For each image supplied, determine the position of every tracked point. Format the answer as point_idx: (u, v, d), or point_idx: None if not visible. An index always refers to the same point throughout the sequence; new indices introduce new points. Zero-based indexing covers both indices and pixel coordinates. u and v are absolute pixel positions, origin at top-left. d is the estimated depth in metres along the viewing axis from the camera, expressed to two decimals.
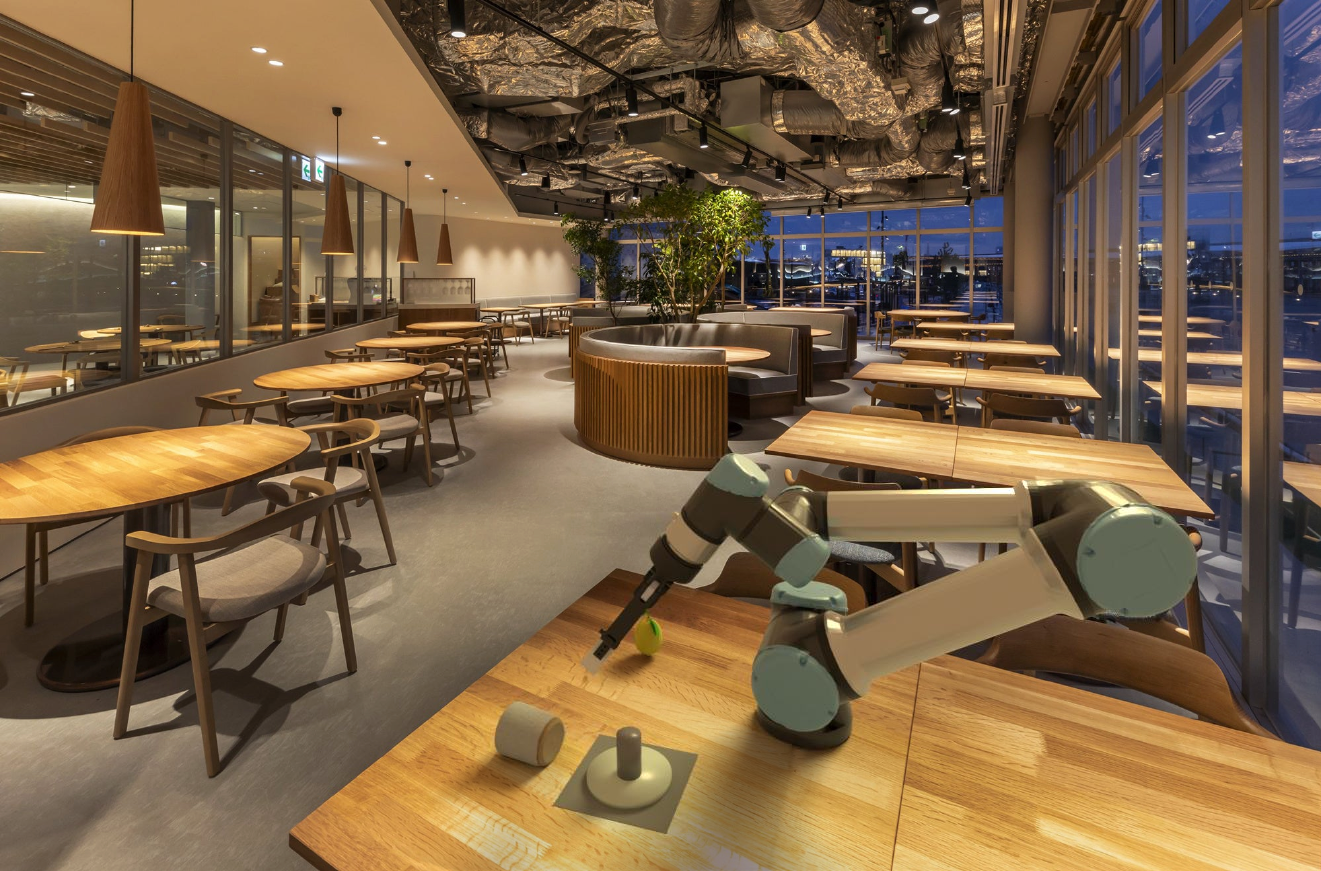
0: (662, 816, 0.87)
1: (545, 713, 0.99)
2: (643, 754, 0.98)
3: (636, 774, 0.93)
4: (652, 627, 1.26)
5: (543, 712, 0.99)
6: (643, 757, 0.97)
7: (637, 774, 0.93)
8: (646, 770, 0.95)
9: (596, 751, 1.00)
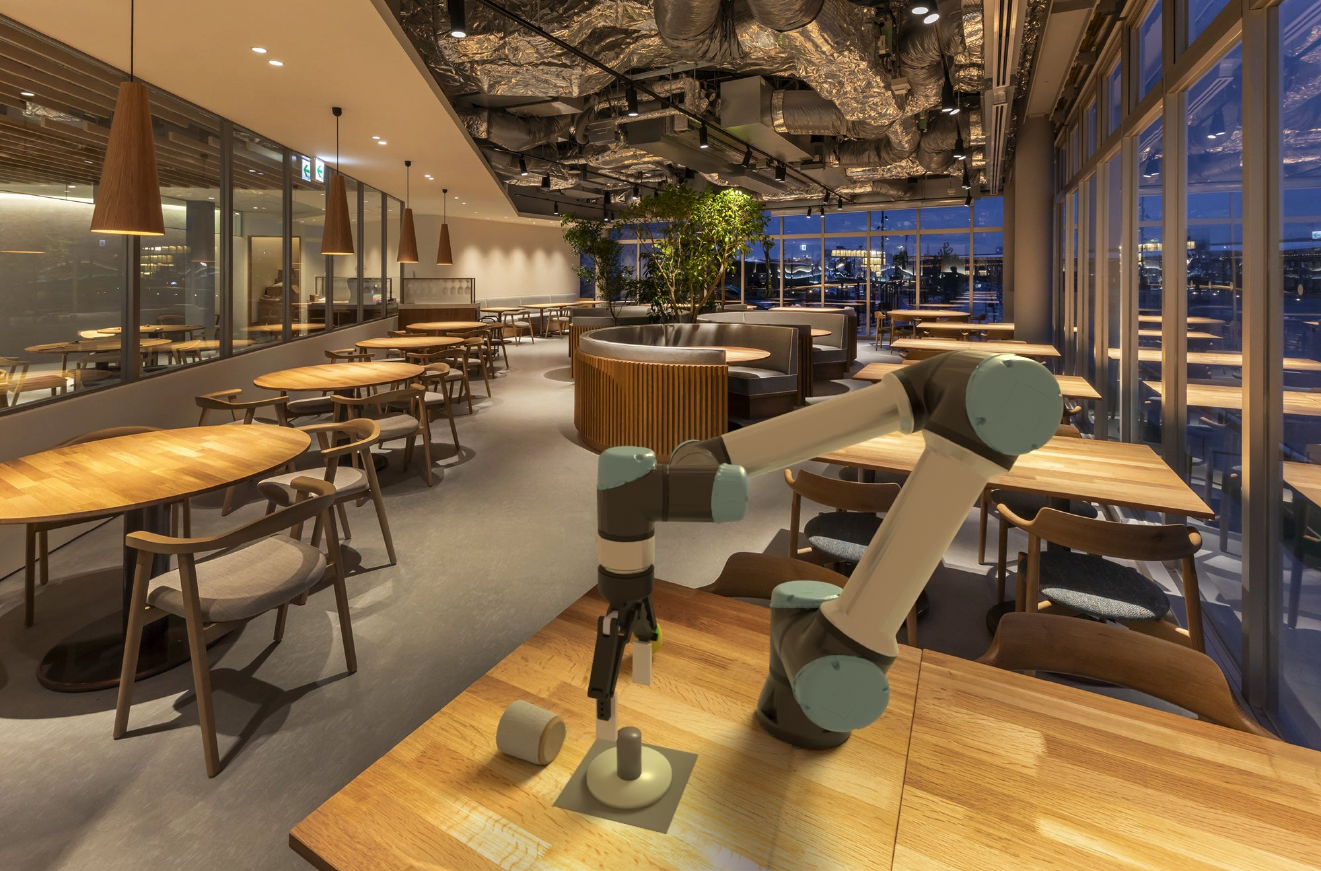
0: (662, 816, 0.87)
1: (546, 712, 0.99)
2: (643, 754, 0.98)
3: (636, 774, 0.93)
4: None
5: (544, 711, 1.00)
6: (643, 757, 0.97)
7: (637, 774, 0.93)
8: (646, 770, 0.95)
9: (596, 751, 1.00)
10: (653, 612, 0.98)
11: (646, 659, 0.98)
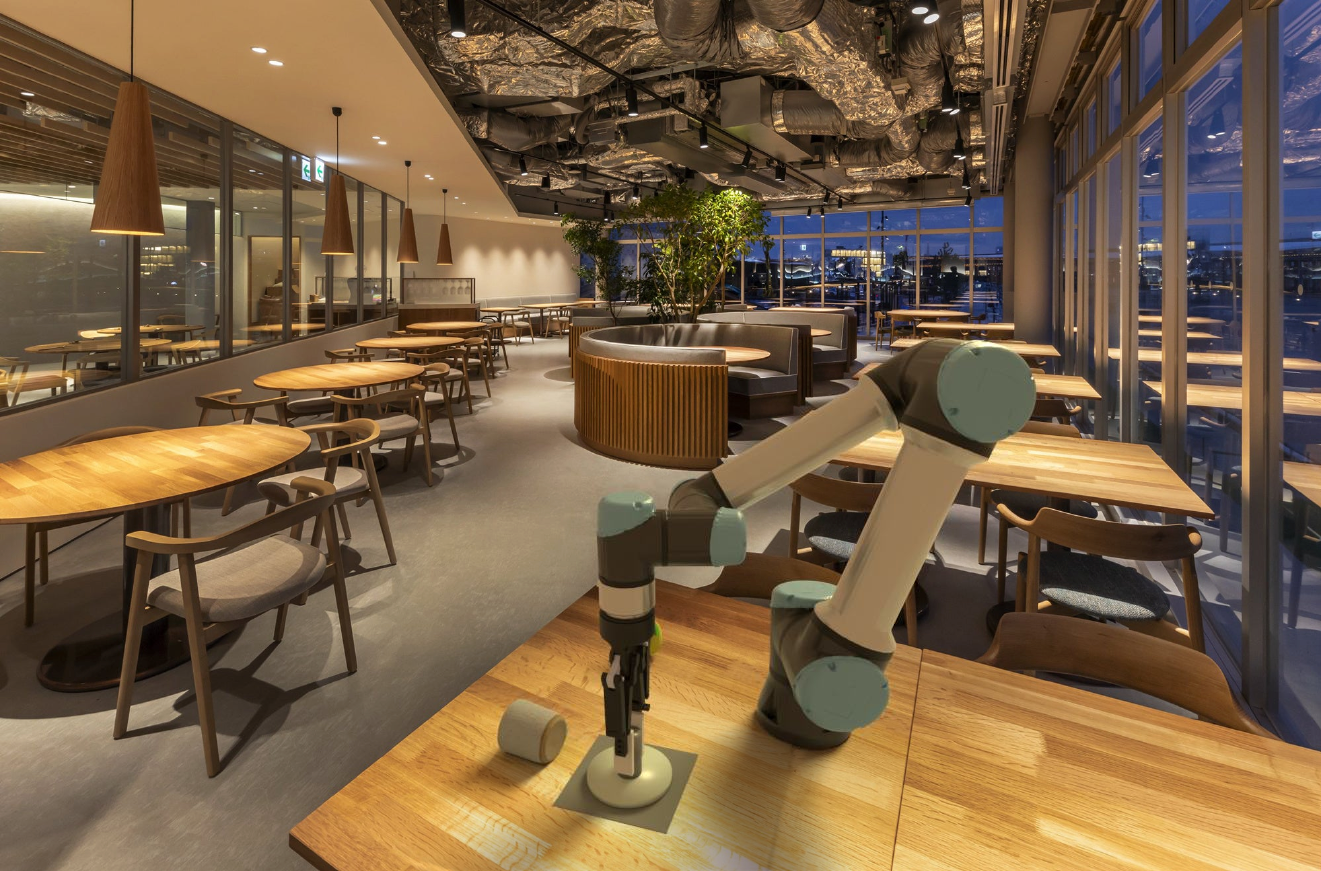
0: (662, 816, 0.87)
1: (548, 710, 1.00)
2: None
3: (636, 773, 0.93)
4: None
5: (546, 709, 1.00)
6: (643, 756, 0.97)
7: (637, 773, 0.93)
8: (647, 769, 0.95)
9: (596, 751, 1.00)
10: (648, 674, 0.97)
11: None
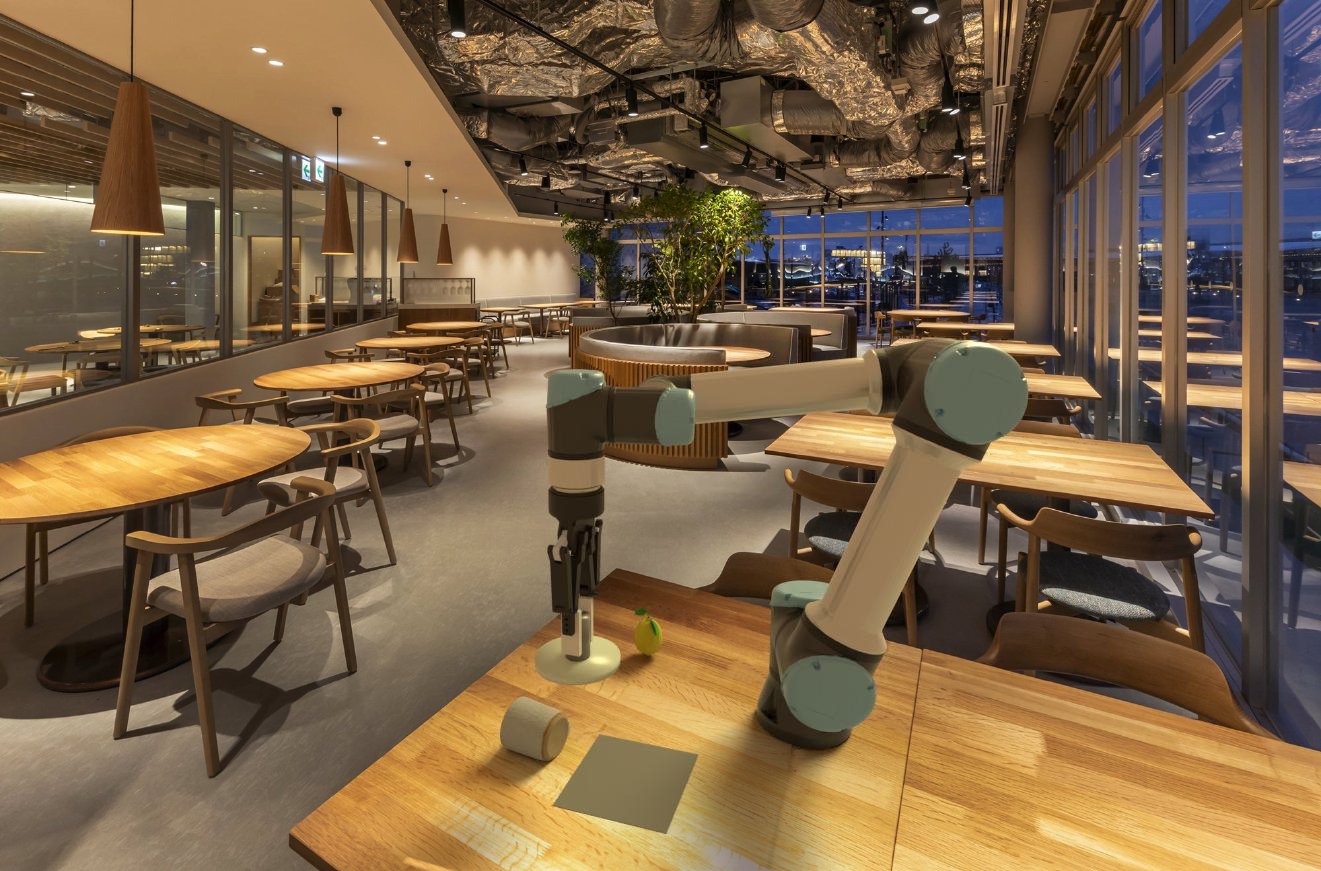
0: (662, 816, 0.87)
1: (550, 708, 1.00)
2: (593, 641, 0.98)
3: (584, 655, 0.93)
4: (652, 627, 1.26)
5: (548, 707, 1.00)
6: (593, 644, 0.97)
7: (585, 655, 0.93)
8: (595, 654, 0.95)
9: (596, 751, 1.00)
10: (599, 561, 0.97)
11: None
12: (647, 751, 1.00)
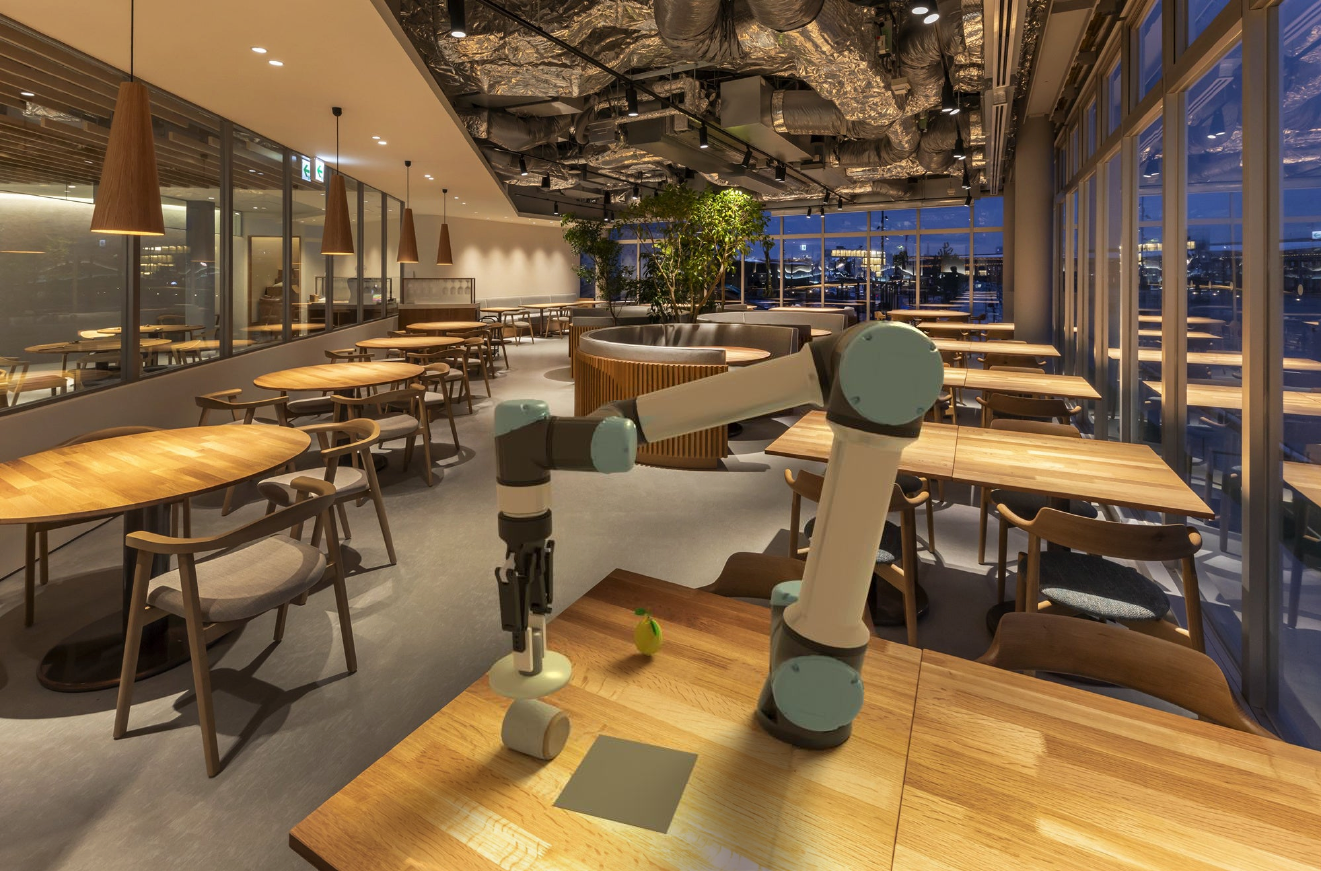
0: (662, 816, 0.87)
1: (551, 707, 1.00)
2: (547, 656, 1.03)
3: (536, 670, 0.97)
4: (652, 627, 1.26)
5: (549, 706, 1.01)
6: (547, 659, 1.02)
7: (537, 670, 0.98)
8: (547, 668, 0.99)
9: (596, 751, 1.00)
10: (551, 580, 1.01)
11: None
12: (647, 751, 1.00)
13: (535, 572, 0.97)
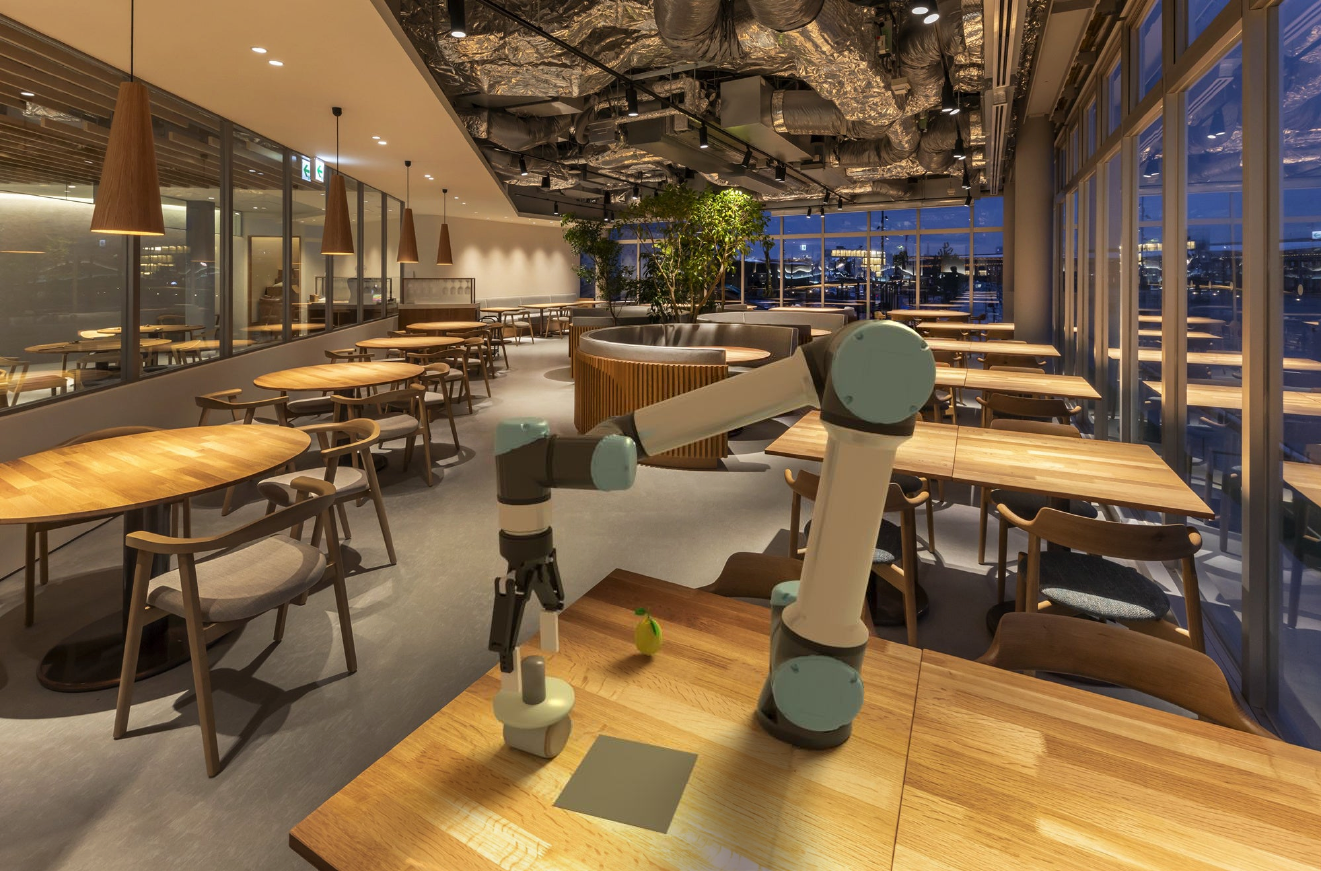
0: (662, 816, 0.87)
1: None
2: (550, 683, 1.04)
3: (539, 698, 0.99)
4: (652, 627, 1.26)
5: None
6: (549, 686, 1.03)
7: (540, 699, 0.99)
8: (551, 696, 1.01)
9: (596, 751, 1.00)
10: (559, 581, 1.04)
11: (552, 627, 1.03)
12: (647, 751, 1.00)
13: (540, 583, 0.99)
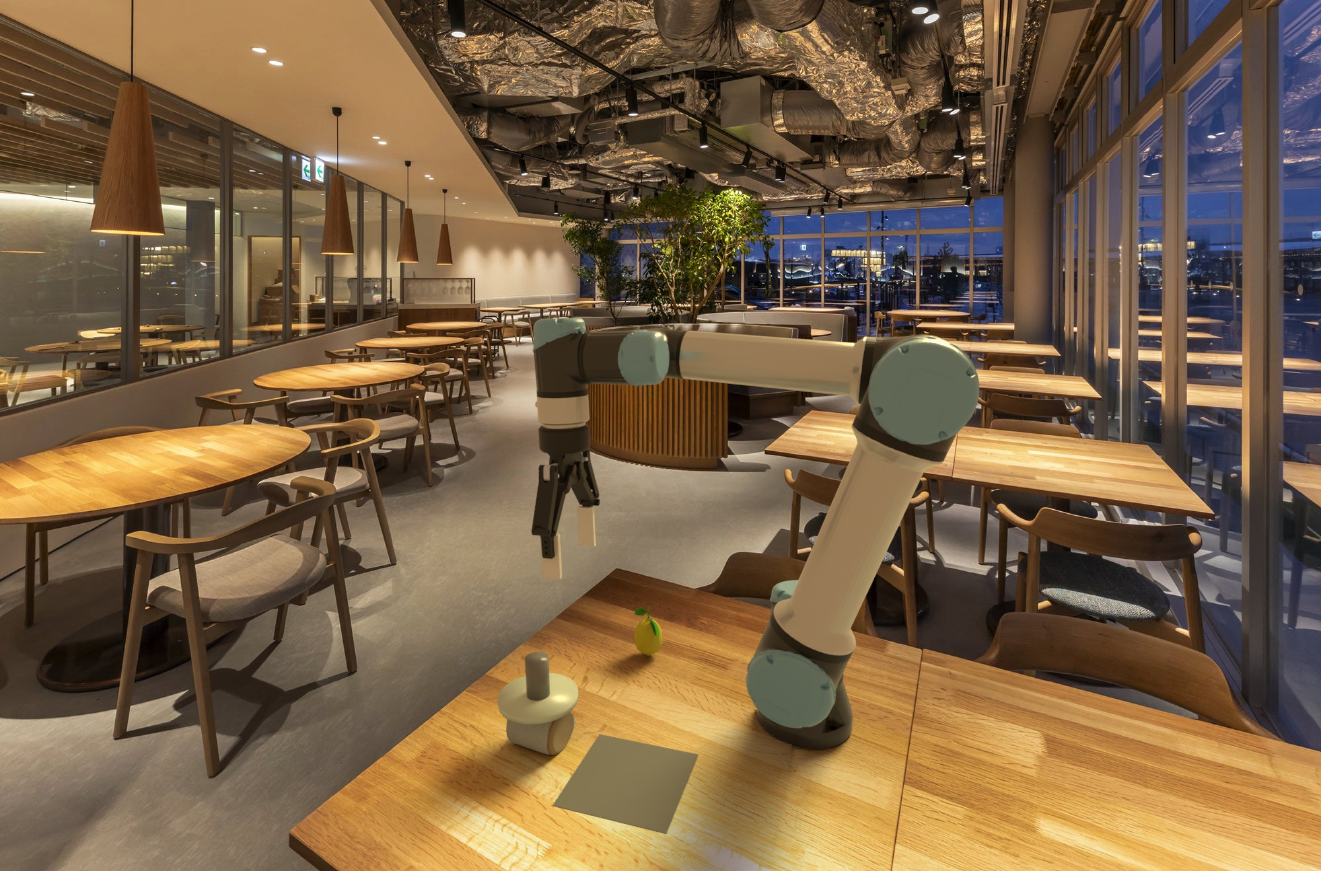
0: (662, 816, 0.87)
1: None
2: (554, 679, 1.05)
3: (543, 694, 1.00)
4: (652, 627, 1.26)
5: None
6: (553, 682, 1.04)
7: (544, 695, 1.00)
8: (555, 692, 1.02)
9: (596, 751, 1.00)
10: (594, 479, 1.08)
11: (589, 522, 1.08)
12: (647, 751, 1.00)
13: (578, 480, 1.03)
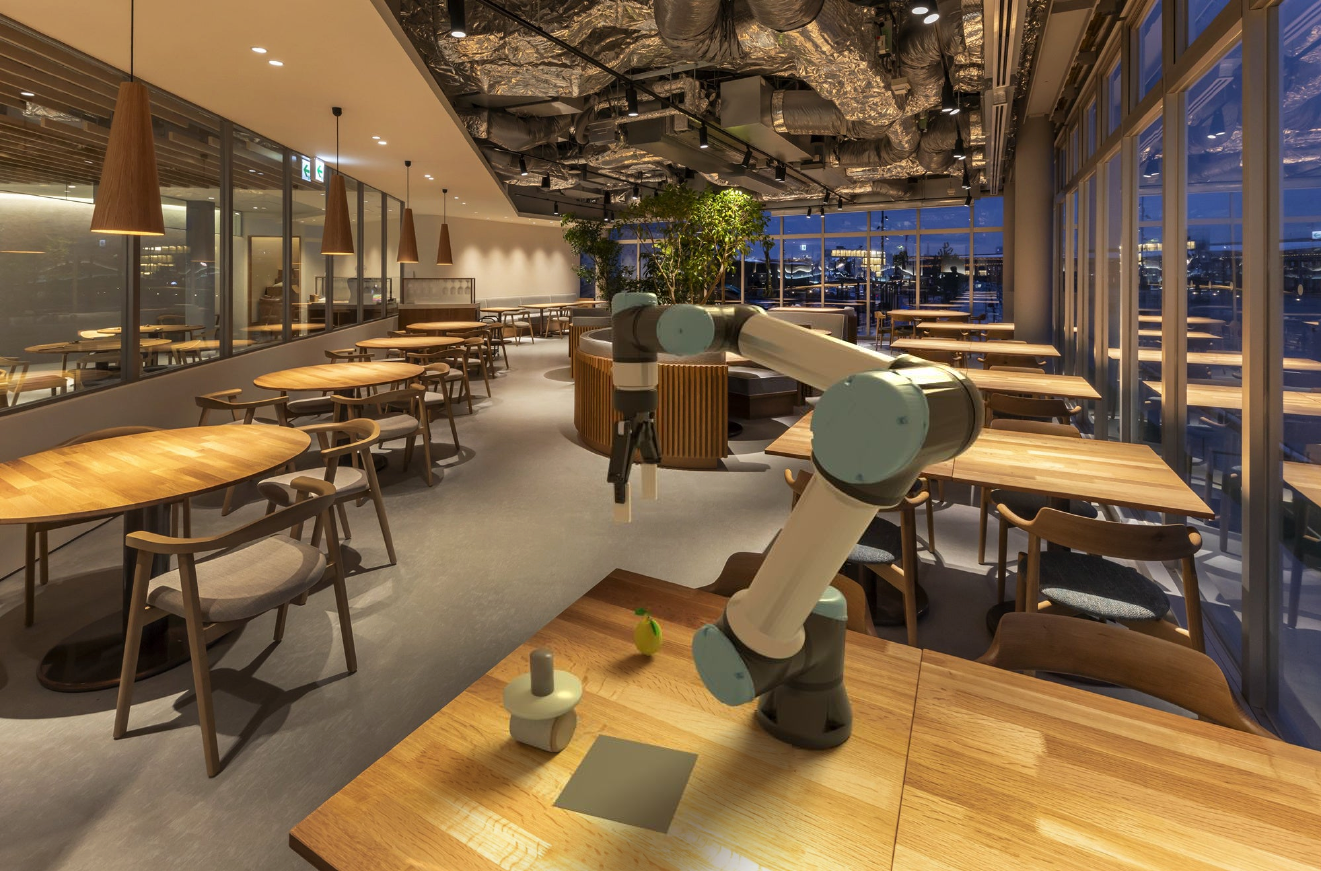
0: (662, 816, 0.87)
1: None
2: (558, 676, 1.06)
3: (548, 691, 1.01)
4: (652, 627, 1.26)
5: None
6: (558, 678, 1.05)
7: (549, 691, 1.01)
8: (559, 688, 1.03)
9: (596, 751, 1.00)
10: (657, 440, 1.21)
11: (652, 477, 1.20)
12: (647, 751, 1.00)
13: (645, 439, 1.16)
